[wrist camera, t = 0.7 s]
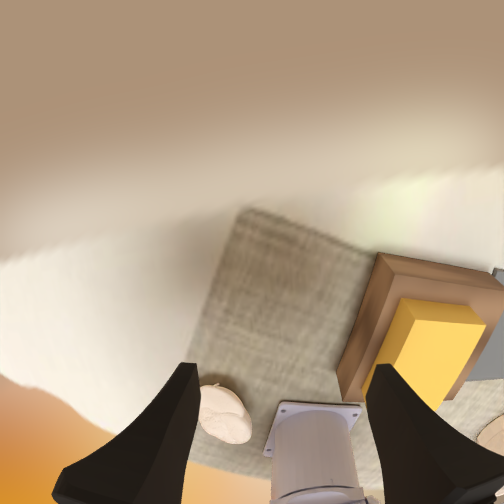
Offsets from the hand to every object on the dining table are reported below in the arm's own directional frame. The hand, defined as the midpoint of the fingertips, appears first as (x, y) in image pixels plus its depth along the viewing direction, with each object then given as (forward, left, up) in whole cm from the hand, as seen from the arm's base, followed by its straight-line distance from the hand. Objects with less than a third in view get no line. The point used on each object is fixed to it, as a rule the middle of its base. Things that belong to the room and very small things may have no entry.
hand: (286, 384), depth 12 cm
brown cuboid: (-3, -12, -11) cm, 16 cm away
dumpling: (-14, +2, -11) cm, 18 cm away
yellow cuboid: (-3, -11, -6) cm, 13 cm away
